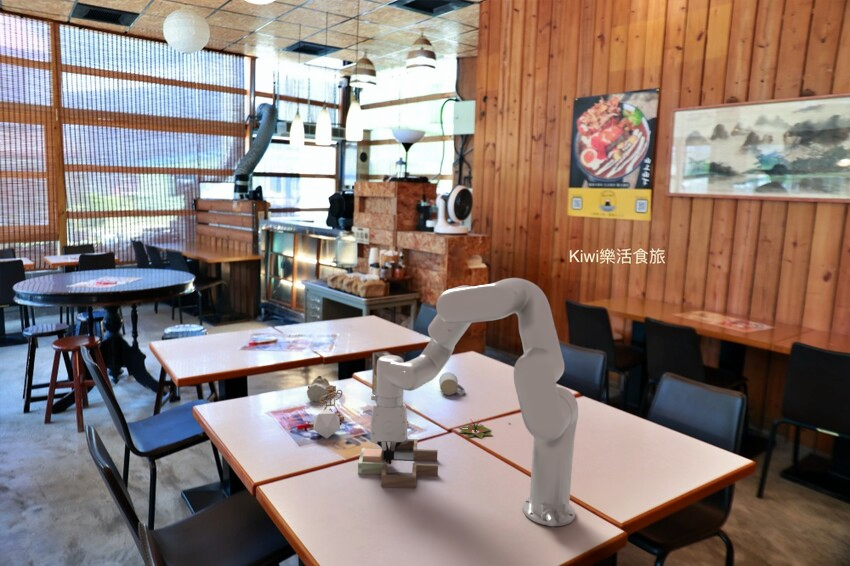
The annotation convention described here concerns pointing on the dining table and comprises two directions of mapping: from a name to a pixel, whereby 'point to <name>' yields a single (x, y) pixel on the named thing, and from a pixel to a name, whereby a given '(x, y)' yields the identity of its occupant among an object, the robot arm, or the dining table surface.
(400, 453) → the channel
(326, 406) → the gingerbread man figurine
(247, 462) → the dining table surface
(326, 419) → the die
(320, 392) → the ceramic sculpture
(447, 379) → the ceramic mug
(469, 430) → the lily flower
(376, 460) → the block
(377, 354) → the coffee box
